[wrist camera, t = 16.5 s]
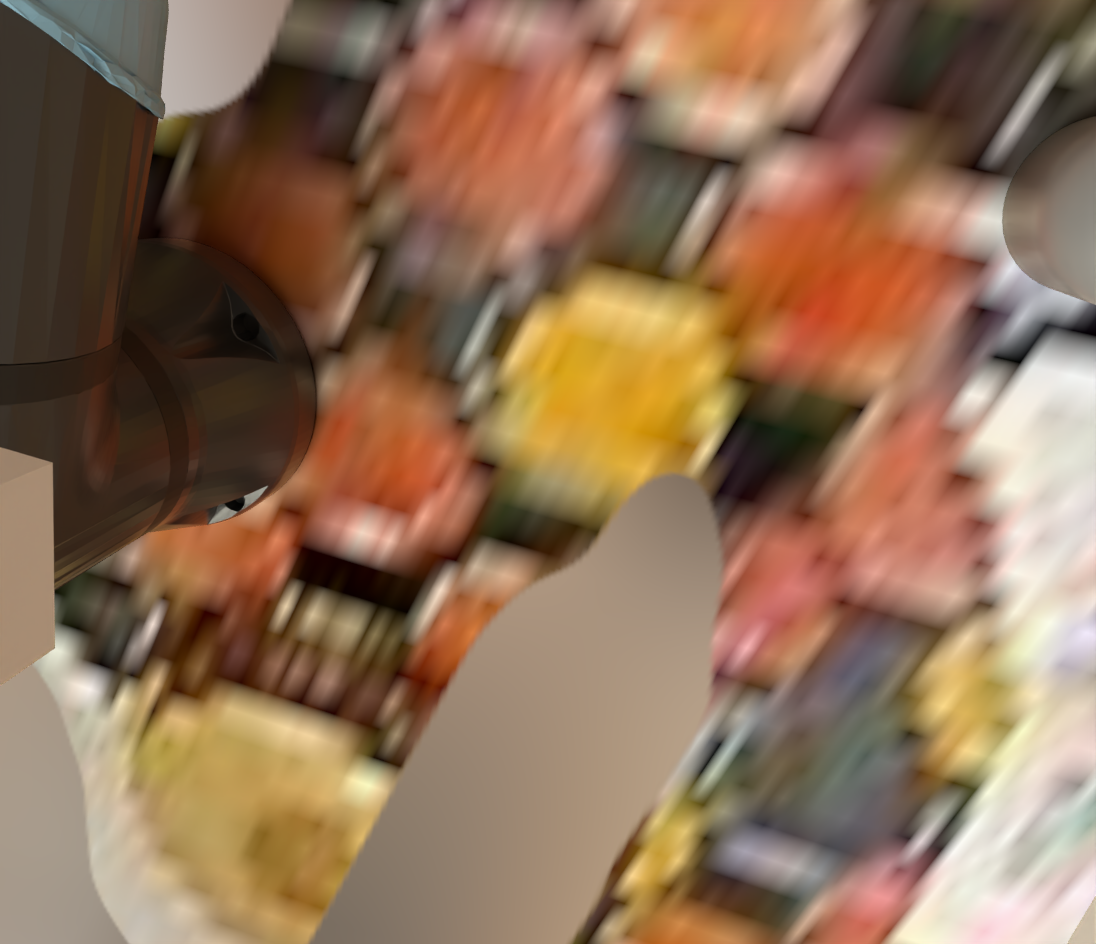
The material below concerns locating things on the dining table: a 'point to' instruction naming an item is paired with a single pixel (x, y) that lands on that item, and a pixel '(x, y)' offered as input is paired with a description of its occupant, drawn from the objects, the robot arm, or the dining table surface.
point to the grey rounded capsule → (1056, 212)
